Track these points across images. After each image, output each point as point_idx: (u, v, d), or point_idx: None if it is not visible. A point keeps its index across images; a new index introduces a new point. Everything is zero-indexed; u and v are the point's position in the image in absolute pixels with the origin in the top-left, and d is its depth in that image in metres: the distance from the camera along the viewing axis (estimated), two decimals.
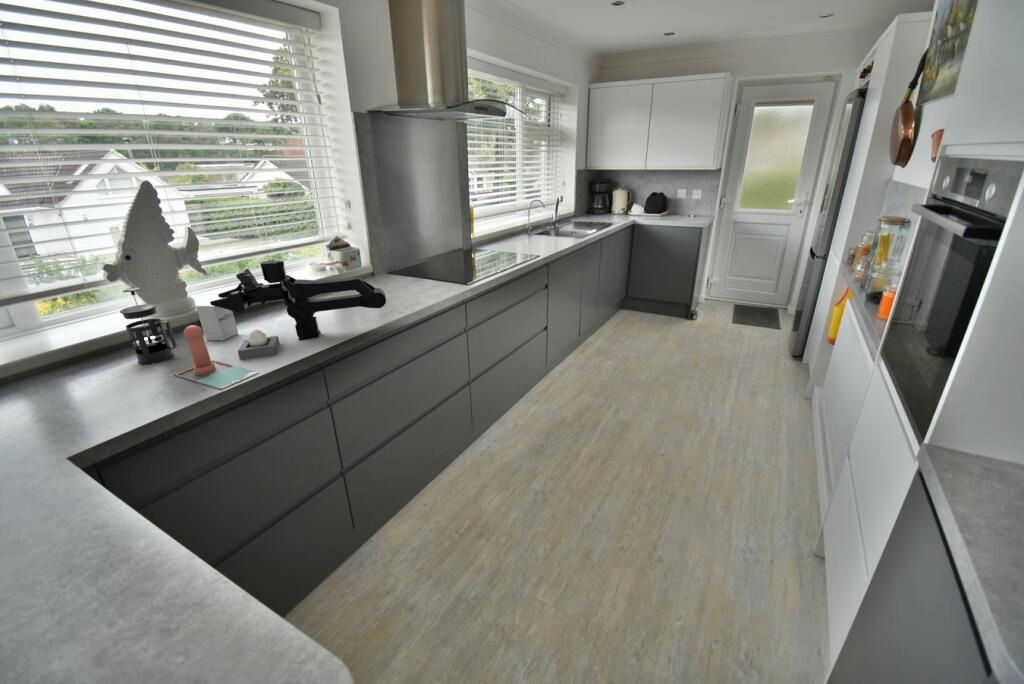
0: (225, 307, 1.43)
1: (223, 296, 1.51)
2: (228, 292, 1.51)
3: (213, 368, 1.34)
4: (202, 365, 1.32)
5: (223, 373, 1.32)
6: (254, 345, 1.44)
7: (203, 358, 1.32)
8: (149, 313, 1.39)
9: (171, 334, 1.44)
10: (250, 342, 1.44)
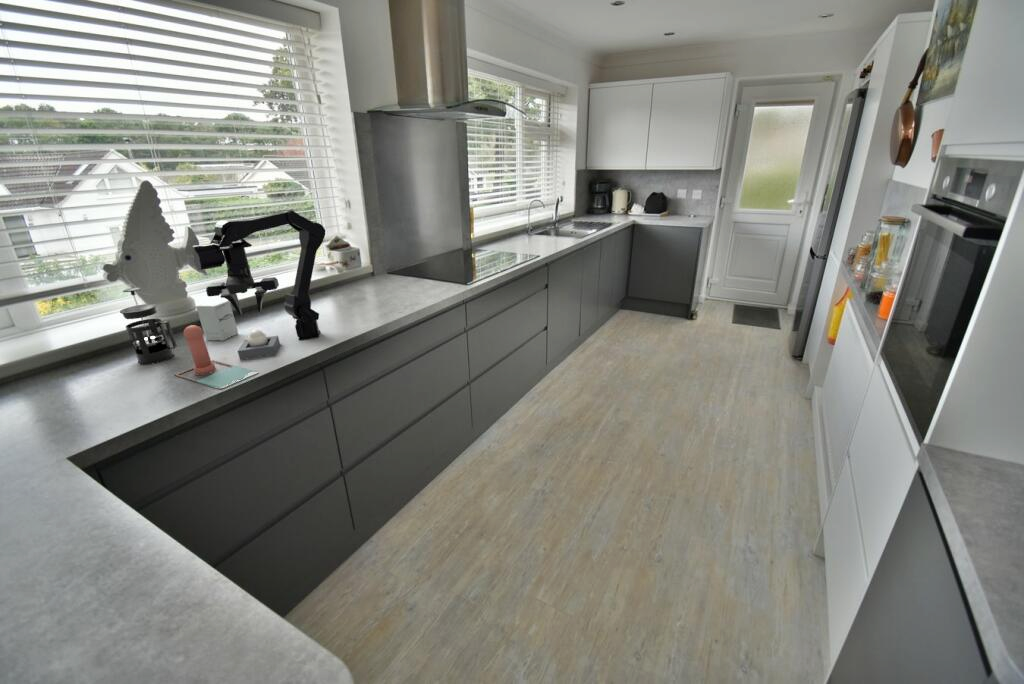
0: (262, 297, 1.44)
1: (240, 309, 1.42)
2: (237, 305, 1.40)
3: (213, 368, 1.34)
4: (202, 365, 1.32)
5: (223, 373, 1.32)
6: (254, 345, 1.44)
7: (203, 358, 1.32)
8: (149, 313, 1.39)
9: (171, 334, 1.44)
10: (250, 342, 1.44)
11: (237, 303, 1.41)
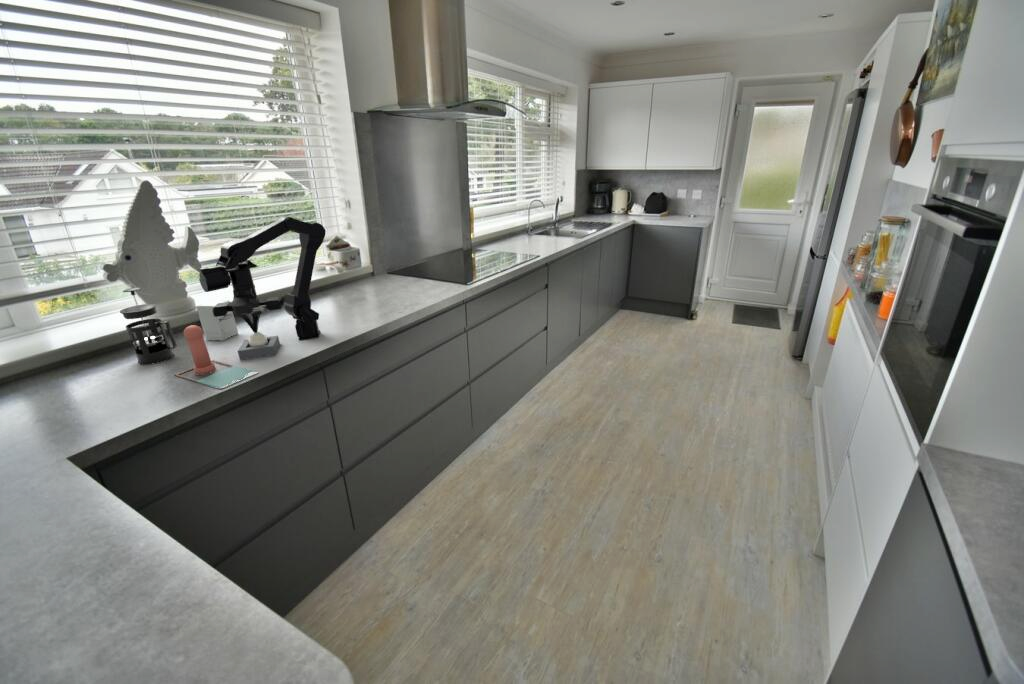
0: (259, 317, 1.45)
1: None
2: (252, 323, 1.43)
3: (213, 368, 1.34)
4: (202, 365, 1.32)
5: (223, 373, 1.32)
6: None
7: (203, 358, 1.32)
8: (149, 313, 1.39)
9: (171, 334, 1.44)
10: (251, 344, 1.44)
11: (251, 321, 1.44)
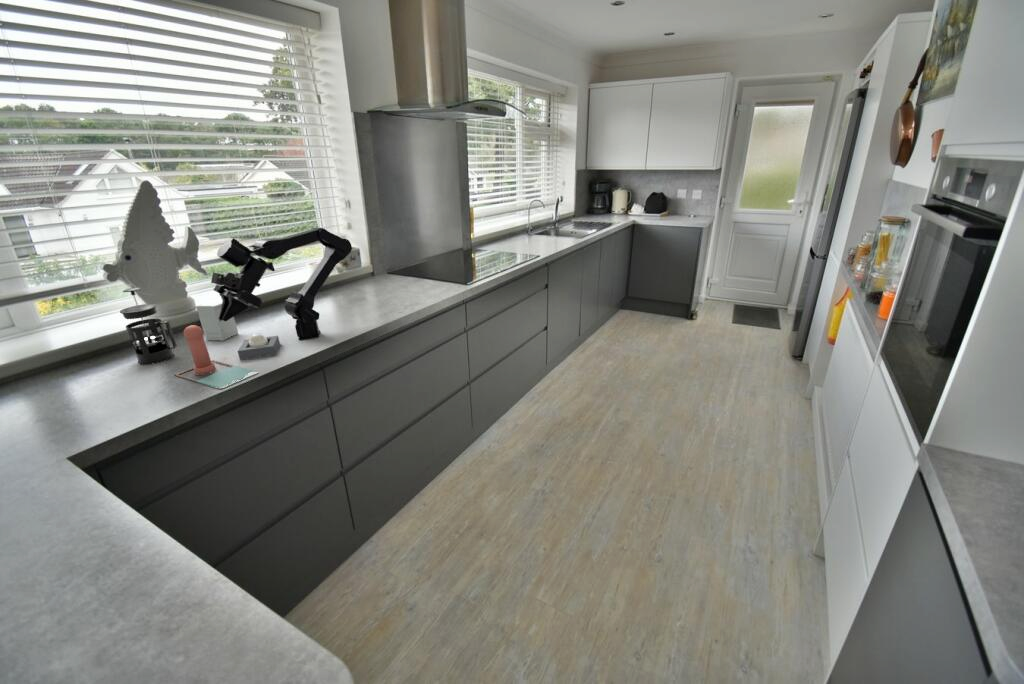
0: (238, 311, 1.37)
1: None
2: (224, 309, 1.37)
3: (213, 368, 1.34)
4: (202, 365, 1.32)
5: (223, 373, 1.32)
6: None
7: (203, 358, 1.32)
8: (149, 313, 1.39)
9: (171, 334, 1.44)
10: (251, 346, 1.44)
11: (226, 308, 1.37)
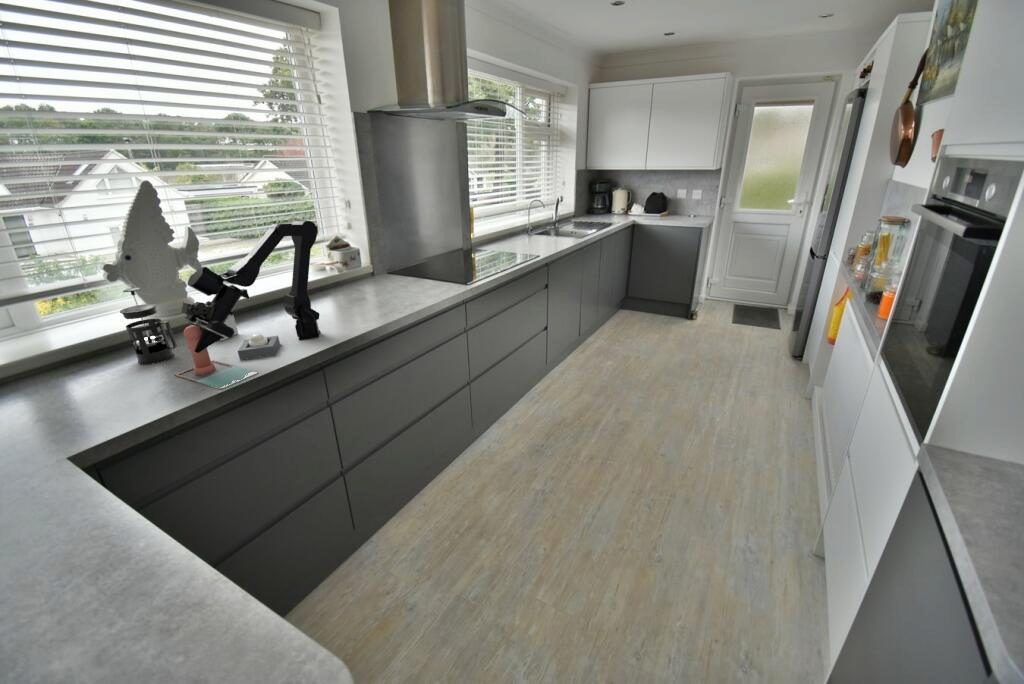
0: (211, 342, 1.31)
1: None
2: None
3: (213, 368, 1.34)
4: (202, 365, 1.32)
5: (223, 373, 1.32)
6: None
7: (203, 358, 1.32)
8: (149, 313, 1.39)
9: (171, 334, 1.44)
10: (251, 346, 1.44)
11: None
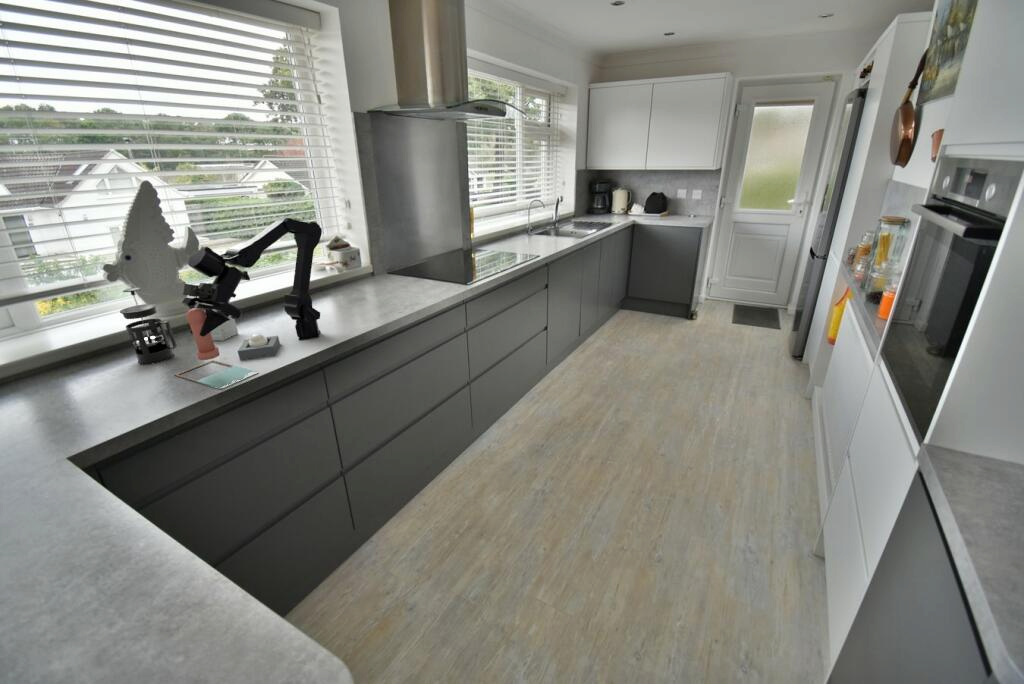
0: (216, 325, 1.27)
1: None
2: None
3: (218, 352, 1.30)
4: (207, 349, 1.27)
5: (223, 373, 1.32)
6: None
7: (208, 342, 1.27)
8: (149, 313, 1.39)
9: (171, 334, 1.44)
10: (251, 346, 1.44)
11: None
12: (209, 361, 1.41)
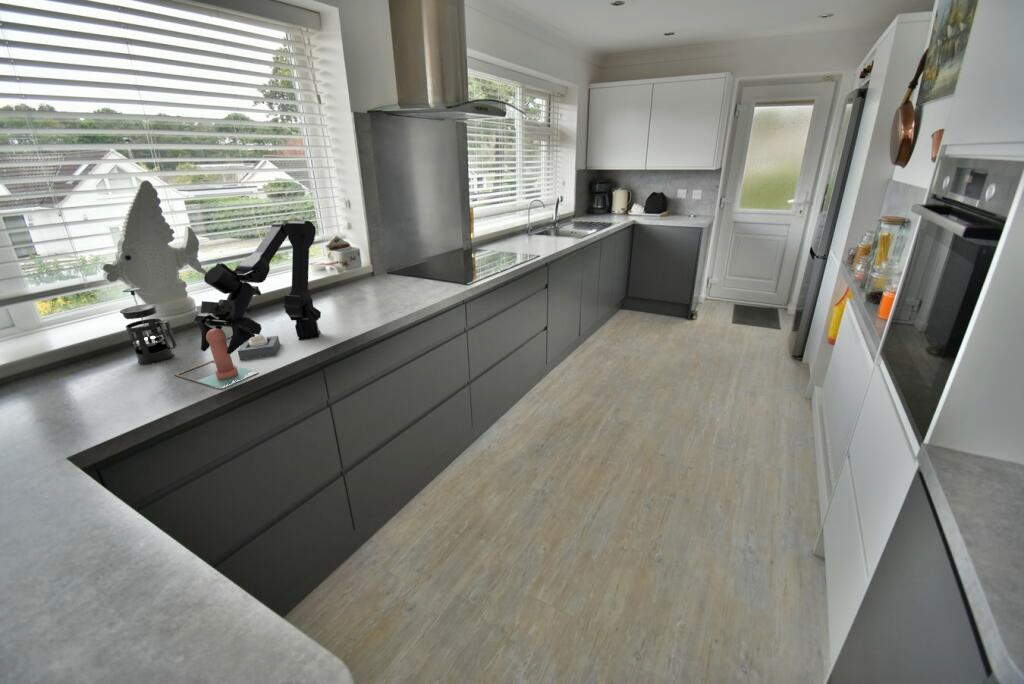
0: (242, 342, 1.26)
1: (206, 346, 1.28)
2: (205, 339, 1.27)
3: (237, 372, 1.30)
4: (227, 369, 1.27)
5: None
6: None
7: (228, 362, 1.27)
8: (149, 313, 1.39)
9: (171, 334, 1.44)
10: (251, 346, 1.44)
11: None
12: (209, 361, 1.41)
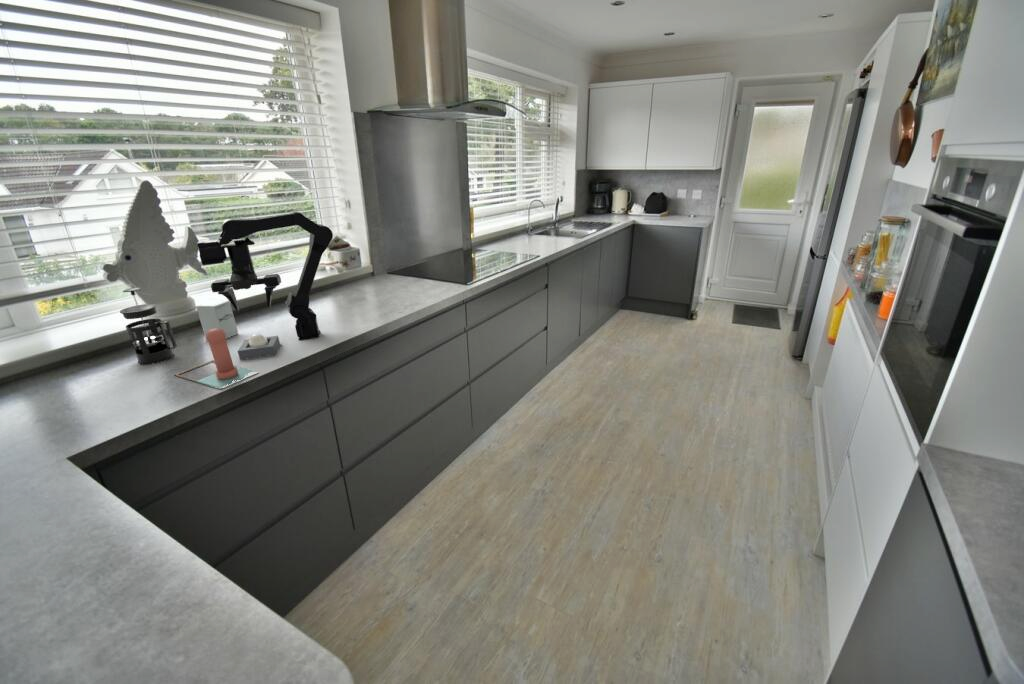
0: None
1: (237, 306, 1.46)
2: (234, 301, 1.44)
3: (237, 372, 1.30)
4: (227, 369, 1.27)
5: None
6: None
7: (228, 362, 1.27)
8: (149, 313, 1.39)
9: (171, 334, 1.44)
10: (251, 346, 1.44)
11: (234, 300, 1.44)
12: (209, 361, 1.41)
